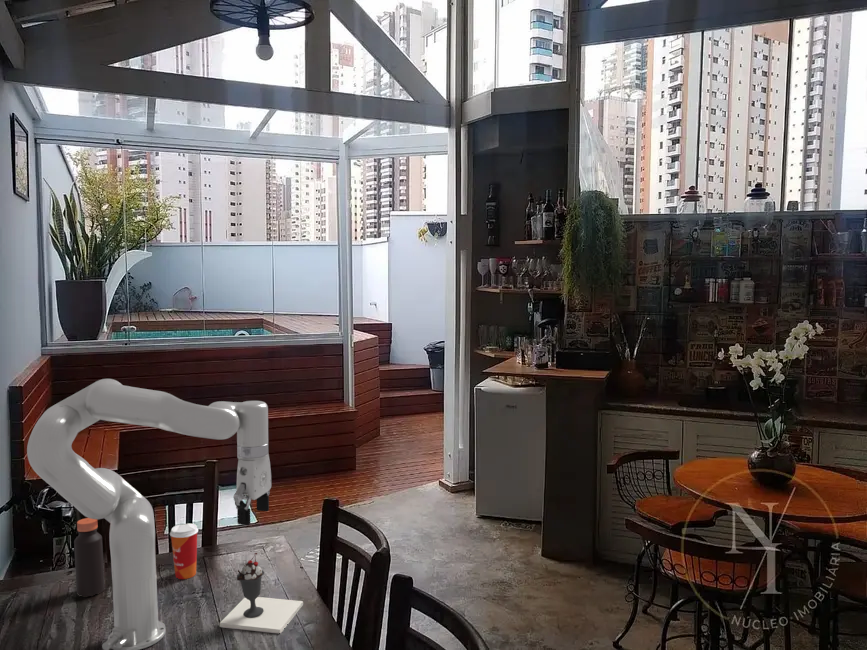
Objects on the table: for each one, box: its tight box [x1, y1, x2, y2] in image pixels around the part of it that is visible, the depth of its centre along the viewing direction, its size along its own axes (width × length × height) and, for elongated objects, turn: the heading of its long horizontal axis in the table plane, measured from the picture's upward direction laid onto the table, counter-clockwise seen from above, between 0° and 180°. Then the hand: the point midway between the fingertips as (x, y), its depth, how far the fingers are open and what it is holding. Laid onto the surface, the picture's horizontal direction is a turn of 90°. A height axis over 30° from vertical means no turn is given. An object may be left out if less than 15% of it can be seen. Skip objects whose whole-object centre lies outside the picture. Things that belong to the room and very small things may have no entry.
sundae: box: [236, 552, 265, 618], centre depth 167 cm, size 7×7×15 cm
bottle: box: [73, 517, 105, 597], centre depth 181 cm, size 7×7×20 cm
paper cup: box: [169, 523, 199, 580], centre depth 191 cm, size 8×8×14 cm
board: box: [219, 596, 304, 634], centre depth 168 cm, size 14×16×1 cm
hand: (253, 517), depth 168 cm, fingers open, 9 cm apart
